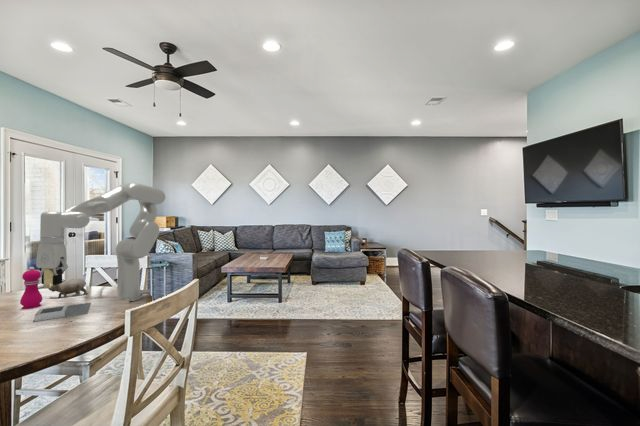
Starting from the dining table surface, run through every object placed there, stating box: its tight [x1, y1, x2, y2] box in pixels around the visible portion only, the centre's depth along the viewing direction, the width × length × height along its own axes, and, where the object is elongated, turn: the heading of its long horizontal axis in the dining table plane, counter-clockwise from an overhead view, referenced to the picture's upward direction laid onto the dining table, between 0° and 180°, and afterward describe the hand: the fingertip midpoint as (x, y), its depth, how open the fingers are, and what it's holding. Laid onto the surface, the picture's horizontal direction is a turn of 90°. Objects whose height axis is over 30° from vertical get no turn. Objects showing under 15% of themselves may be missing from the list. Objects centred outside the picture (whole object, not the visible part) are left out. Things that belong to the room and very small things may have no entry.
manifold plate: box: [32, 302, 92, 323], centre depth 124 cm, size 17×18×4 cm
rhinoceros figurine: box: [47, 278, 88, 299], centre depth 149 cm, size 8×14×15 cm
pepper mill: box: [19, 266, 43, 310], centre depth 130 cm, size 7×7×20 cm
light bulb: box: [43, 267, 60, 289], centre depth 119 cm, size 5×5×8 cm
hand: (51, 283), depth 119 cm, fingers closed on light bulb, 5 cm apart
